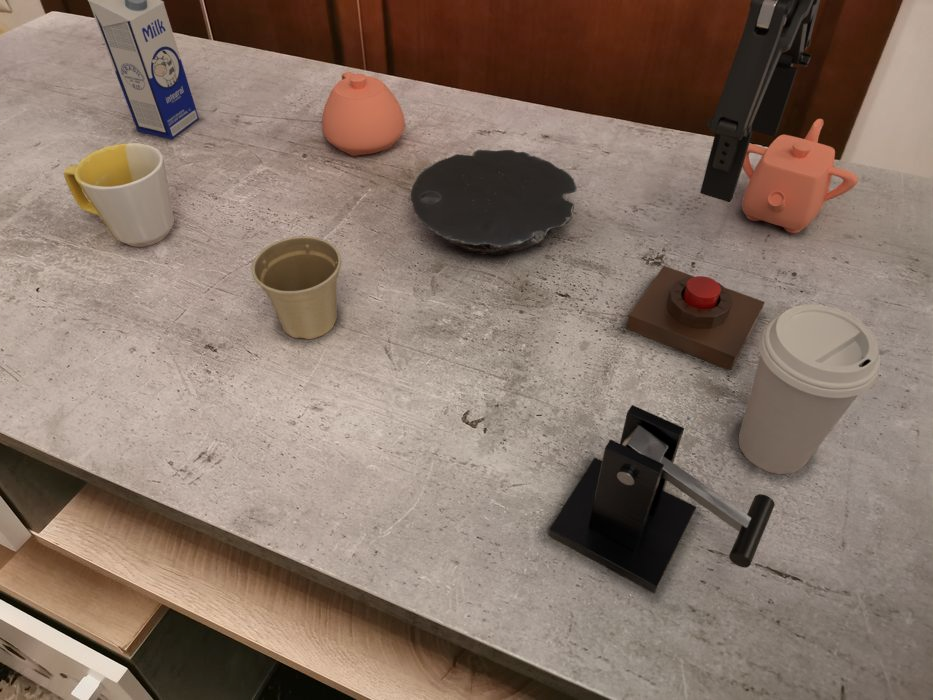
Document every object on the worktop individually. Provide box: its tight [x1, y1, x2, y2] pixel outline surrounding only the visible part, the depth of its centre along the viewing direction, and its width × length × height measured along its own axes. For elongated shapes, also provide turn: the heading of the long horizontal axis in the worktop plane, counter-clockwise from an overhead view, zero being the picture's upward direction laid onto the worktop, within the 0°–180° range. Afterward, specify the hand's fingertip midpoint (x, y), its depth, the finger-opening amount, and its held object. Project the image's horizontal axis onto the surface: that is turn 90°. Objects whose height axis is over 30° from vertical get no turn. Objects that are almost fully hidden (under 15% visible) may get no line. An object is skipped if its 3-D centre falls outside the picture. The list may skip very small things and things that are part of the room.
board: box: [410, 149, 578, 256], centre depth 94 cm, size 22×22×5 cm
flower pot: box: [251, 235, 342, 340], centre depth 80 cm, size 9×9×9 cm
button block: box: [625, 265, 765, 371], centre depth 81 cm, size 12×10×4 cm
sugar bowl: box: [321, 71, 406, 157], centre depth 107 cm, size 12×14×10 cm
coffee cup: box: [738, 303, 881, 475], centre depth 65 cm, size 10×10×15 cm
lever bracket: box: [548, 404, 697, 594], centre depth 60 cm, size 10×9×13 cm
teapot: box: [742, 118, 859, 234], centre depth 93 cm, size 14×12×10 cm
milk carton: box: [87, 0, 200, 141], centre depth 108 cm, size 7×7×20 cm
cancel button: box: [683, 275, 721, 309], centre depth 79 cm, size 4×4×2 cm
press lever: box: [622, 425, 776, 569], centre depth 56 cm, size 12×6×2 cm, turn 57°
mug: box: [63, 142, 175, 248], centre depth 92 cm, size 14×10×10 cm
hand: (740, 162), depth 67 cm, fingers open, 12 cm apart
